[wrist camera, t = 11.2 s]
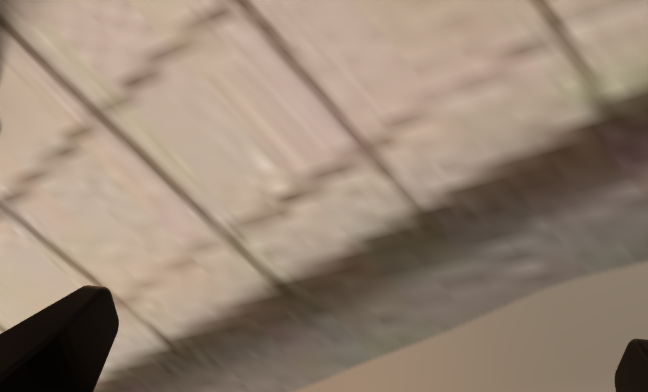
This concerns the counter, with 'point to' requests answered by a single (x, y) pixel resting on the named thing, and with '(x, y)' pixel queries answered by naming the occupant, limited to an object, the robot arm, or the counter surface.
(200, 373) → the counter surface
